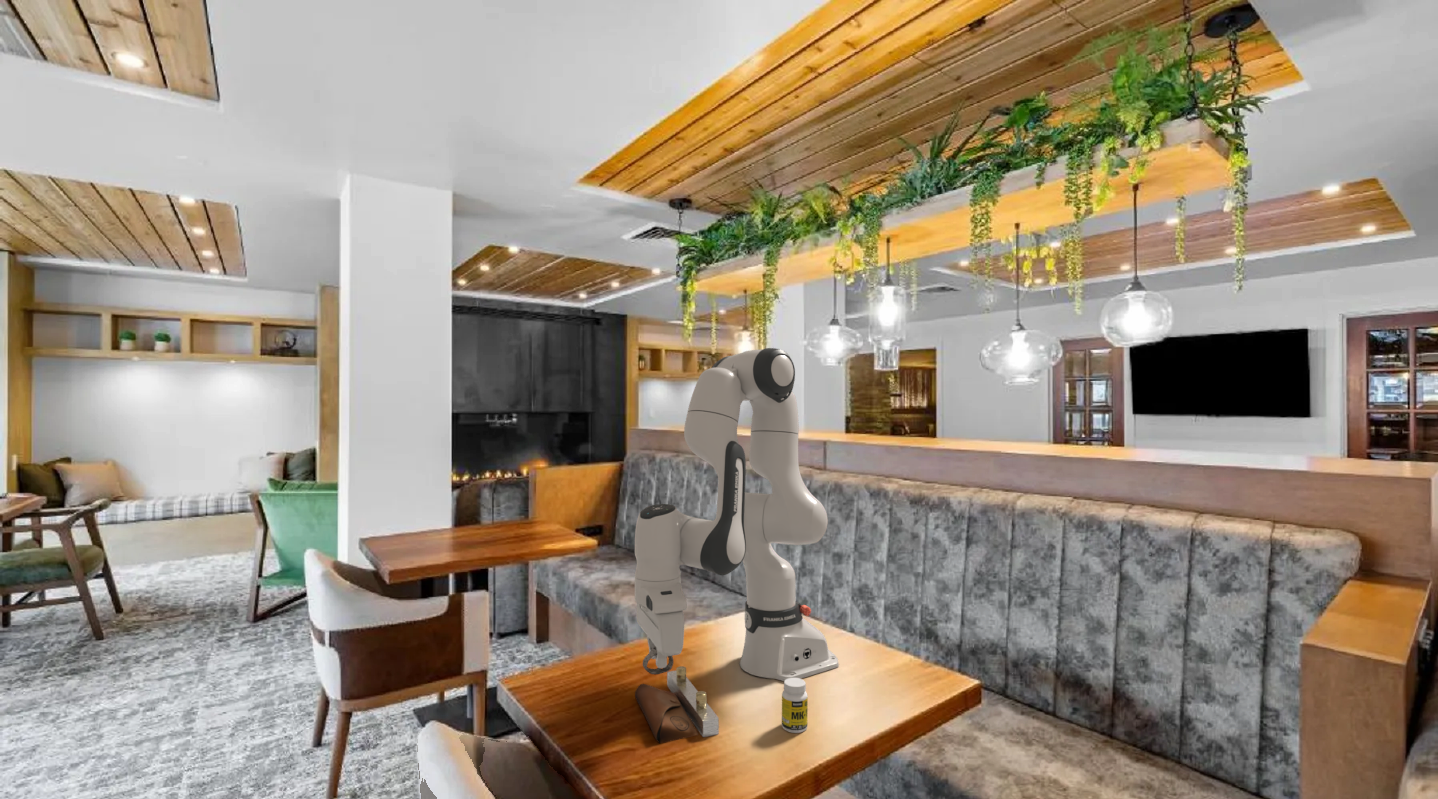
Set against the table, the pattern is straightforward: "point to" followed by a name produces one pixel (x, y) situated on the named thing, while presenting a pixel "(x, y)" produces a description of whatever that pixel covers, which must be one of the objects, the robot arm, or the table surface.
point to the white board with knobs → (693, 702)
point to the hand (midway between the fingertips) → (657, 662)
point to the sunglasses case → (664, 714)
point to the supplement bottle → (794, 705)
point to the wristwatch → (658, 670)
